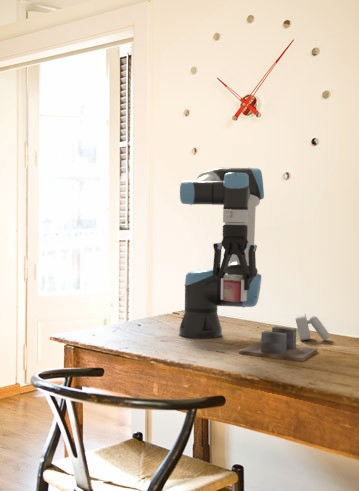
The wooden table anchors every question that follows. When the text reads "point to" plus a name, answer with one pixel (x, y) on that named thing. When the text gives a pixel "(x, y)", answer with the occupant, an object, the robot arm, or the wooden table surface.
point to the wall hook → (304, 329)
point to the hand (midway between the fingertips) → (233, 299)
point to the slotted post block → (279, 346)
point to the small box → (232, 288)
